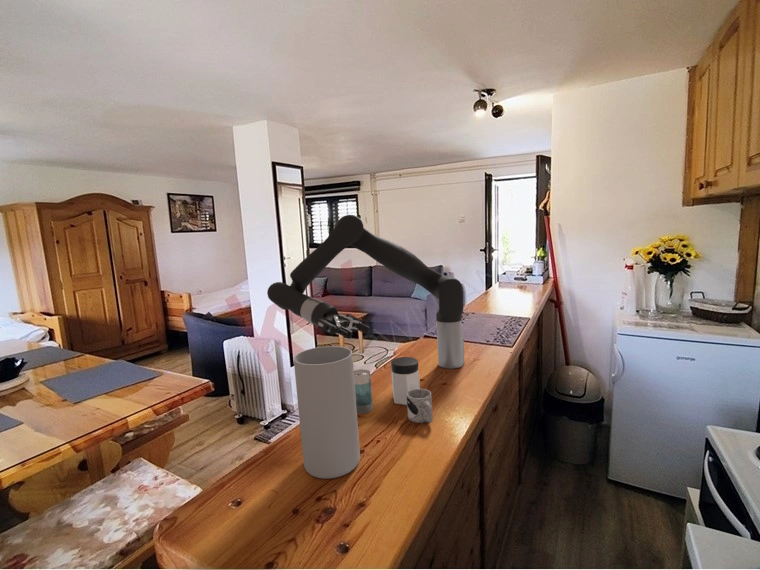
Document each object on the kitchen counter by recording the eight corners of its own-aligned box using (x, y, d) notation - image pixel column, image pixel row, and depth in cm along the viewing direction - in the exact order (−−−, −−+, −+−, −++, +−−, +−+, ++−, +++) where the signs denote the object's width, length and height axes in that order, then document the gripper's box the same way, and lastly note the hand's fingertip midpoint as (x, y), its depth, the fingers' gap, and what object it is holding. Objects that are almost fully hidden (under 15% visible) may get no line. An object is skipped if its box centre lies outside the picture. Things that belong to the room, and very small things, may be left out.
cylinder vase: (306, 486, 75) (295, 368, 72) (301, 453, 87) (292, 351, 84) (366, 472, 79) (357, 359, 76) (353, 442, 91) (346, 343, 88)
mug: (403, 414, 103) (402, 391, 103) (425, 409, 106) (423, 386, 105) (420, 431, 94) (419, 406, 93) (443, 424, 96) (442, 400, 96)
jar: (402, 408, 107) (400, 368, 105) (386, 399, 114) (384, 361, 112) (426, 399, 112) (424, 361, 110) (409, 390, 119) (407, 354, 117)
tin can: (364, 402, 112) (361, 368, 111) (376, 408, 108) (374, 372, 106) (349, 409, 108) (346, 373, 107) (361, 415, 104) (358, 378, 103)
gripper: (305, 303, 107) (348, 324, 99) (336, 300, 119) (377, 317, 111) (299, 327, 109) (342, 349, 101) (331, 321, 121) (371, 340, 113)
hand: (360, 333), depth 106 cm, fingers open, 8 cm apart
